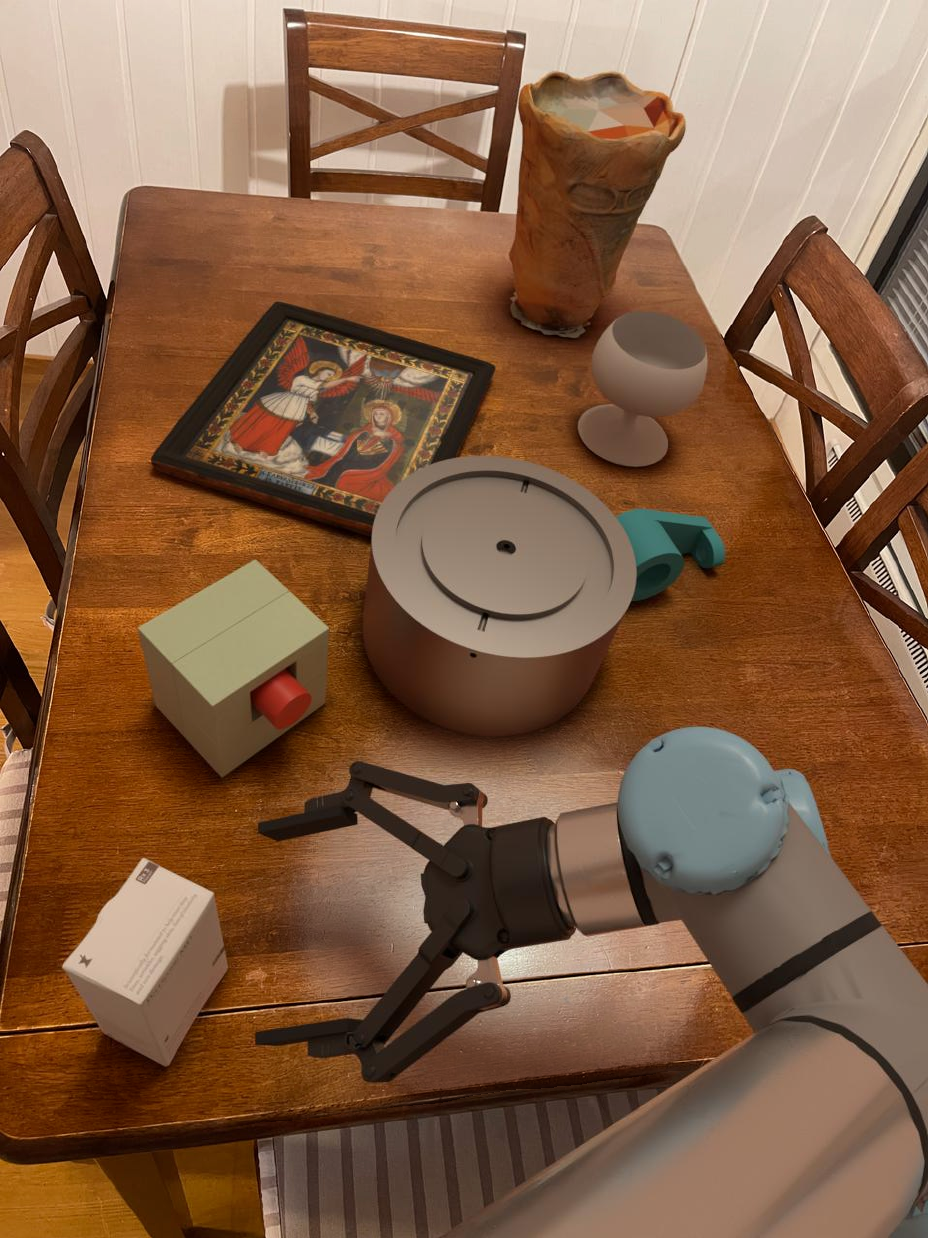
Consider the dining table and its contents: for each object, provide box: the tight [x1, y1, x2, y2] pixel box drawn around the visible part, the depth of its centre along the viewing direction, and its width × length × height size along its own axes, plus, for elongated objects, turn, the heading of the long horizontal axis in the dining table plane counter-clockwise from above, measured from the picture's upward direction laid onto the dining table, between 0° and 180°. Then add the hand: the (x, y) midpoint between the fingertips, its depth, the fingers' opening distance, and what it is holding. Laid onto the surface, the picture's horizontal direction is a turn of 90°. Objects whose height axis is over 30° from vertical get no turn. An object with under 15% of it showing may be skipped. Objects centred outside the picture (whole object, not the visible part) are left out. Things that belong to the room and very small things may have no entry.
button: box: [250, 669, 312, 729], centre depth 75 cm, size 6×4×4 cm
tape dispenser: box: [615, 508, 726, 602], centre depth 99 cm, size 7×15×8 cm, turn 111°
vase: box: [508, 70, 687, 339], centre depth 121 cm, size 21×20×30 cm
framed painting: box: [150, 301, 496, 538], centre depth 108 cm, size 38×35×3 cm
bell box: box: [137, 559, 330, 779], centre depth 79 cm, size 10×12×12 cm
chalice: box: [577, 310, 709, 468], centre depth 110 cm, size 14×14×15 cm
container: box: [362, 455, 637, 737], centre depth 88 cm, size 25×25×13 cm
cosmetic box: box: [61, 857, 229, 1067], centre depth 61 cm, size 8×6×15 cm
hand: (266, 930), depth 61 cm, fingers open, 13 cm apart
